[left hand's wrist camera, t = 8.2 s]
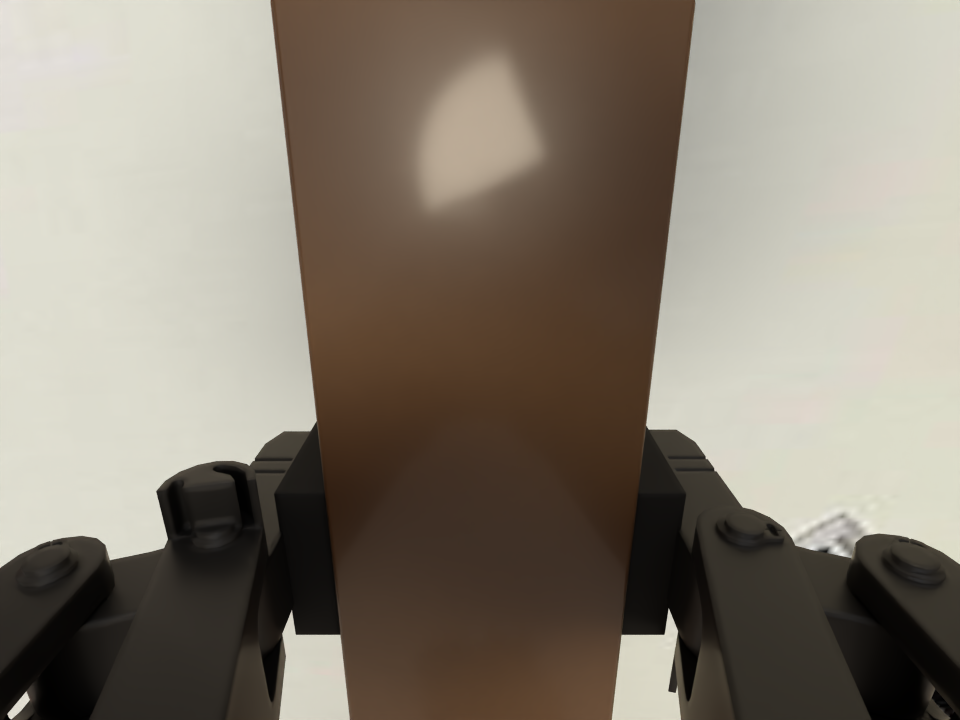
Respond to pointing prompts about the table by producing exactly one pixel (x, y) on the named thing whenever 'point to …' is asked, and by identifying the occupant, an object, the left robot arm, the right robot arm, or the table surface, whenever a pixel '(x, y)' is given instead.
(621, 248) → the beam
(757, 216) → the table surface
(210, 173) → the table surface
